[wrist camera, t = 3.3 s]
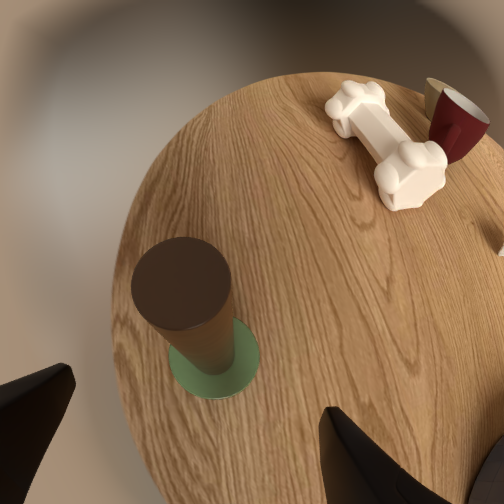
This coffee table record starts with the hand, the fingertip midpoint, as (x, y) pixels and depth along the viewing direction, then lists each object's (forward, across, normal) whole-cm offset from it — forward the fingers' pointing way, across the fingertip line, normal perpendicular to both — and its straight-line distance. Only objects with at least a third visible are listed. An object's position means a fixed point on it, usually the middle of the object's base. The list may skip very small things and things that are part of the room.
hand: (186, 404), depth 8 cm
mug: (+29, -27, -14) cm, 42 cm away
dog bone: (+25, -14, -10) cm, 31 cm away
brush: (+9, 0, +5) cm, 10 cm away
